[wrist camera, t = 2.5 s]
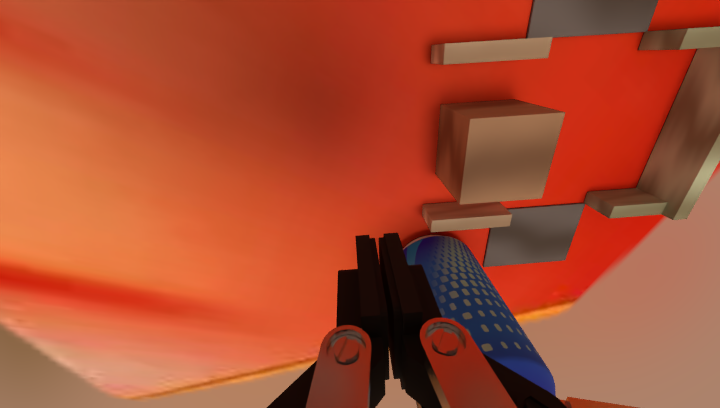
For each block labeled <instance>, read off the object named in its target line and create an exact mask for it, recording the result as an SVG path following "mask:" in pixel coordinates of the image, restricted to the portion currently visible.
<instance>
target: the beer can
mask: <svg viewBox="0 0 720 408" xmlns="http://www.w3.org/2000/svg"><path fill="white" fill-rule="evenodd" d="M403 251H404V254H405V257H406V260H407V263H408V265H417V264H421V265H422V266H423V269H424V271H425V274H426V276H427V279H428V282H429V284H430V287H431V289H432V292H433V295H434V297H435V300H436V302H437V305H438V307H439V310H440V313H441V315H442V318H448V319H451V320H454V321H456V322H458V323H459V324H461V325H462V326H463V327H464V328H465V329H466V330H467V331H468V332H469V334H470V335H471V337H472V339H473V340H474V342H475V343H476V345H477V346H478V348H479V349H480V351H481V352H482V353H483V354H485V355H487V356H488V357H490V358H492V359H494V360H495V361H497V362H499V363H500V364H502V365H504V366H506V367H507V368H509V369H511V370H512V371H514V372H516V373H518V374H519V375H521V376H523V377H524V378H526V379H528V380H530V381H531V382H533V383H535V384H536V385H538V386H540V387H542V388H543V389H545V390H547V391H548V392H550V393H551V394H553V395H554V396H555V383H554V380H553V376H552V375H551V373H550V371H549V369H548V368H547V366H546V365H545V363H544V361H543V360H542V358H541V357H540V355H539V354H538V352H537V351H536V349H535V348H534V347H533V345H532V343H531V342H530V340H529V339H528V338H527V336H526V334H525V333H524V331H523V330H522V328H521V327H520V325H519V324H518V322H517V321H516V319H515V318H514V316H513V315H512V313H511V311H510V310H509V308H508V307H507V305H506V304H505V302H504V301H503V299H502V298H501V296H500V295H499V293H498V292H497V290H496V289H495V287H494V286H493V284H492V283H491V281H490V280H489V278H488V277H487V275H486V274H485V272H484V271H483V269H482V268H481V266H480V265H479V263H478V261H477V260H476V258H475V257H474V255H473V254H472V252H471V251H470V249H469V248H468V247H467V246H466V245H465V244H464V243H463V242H461V241H460V240H458V239H455V238H453V237H449V236H442V235H427V236H422V237H419V238H417V239H415V240H413V241H412V242H410V243H409V244H407V245H406V246H405V247H404V248H403ZM555 397H556V396H555Z"/></svg>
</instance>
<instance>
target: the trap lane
mask: <svg viewBox="0 0 720 408" xmlns="http://www.w3.org/2000/svg"><path fill="white" fill-rule="evenodd" d="M657 3H658V0H533V4H532V9H531V15H530V20H529V25H528V31H527V36H526V39H511V40H495V41H478V42H462V43H446V44H436V45H432V49H431V63H433V64H443V65H444V64H460V63H475V62H491V61H507V60H522V59H538V58H548V55H549V51H550V47H551V42H552V38H553V37H569V36H585V35H601V34H617V33H633V32H644V35H643V37H642V40H641V43H640V46H639V49H638V50H678V49H695V48H698V49H697V51H696V53H695V56H694V58H693V60H692V62H691V65H690V67H689V69H688V72H687V74H686V76H685V78H684V81H683V83H682V85H681V87H680V90H679V92H678V94H677V96H676V99H675V101H674V103H673V106H672V108H671V110H670V112H669V115H668V117H667V119H666V121H665V124H664V126H663V128H662V130H661V133H660V135H659V137H658V139H657V142H656V144H655V146H654V149H653V151H652V153H651V155H650V158H649V160H648V162H647V164H646V167H645V169H644V171H643V173H642V176H641V178H640V180H639V183H638V185H637V187H636V188H630V189H617V190H604V191H591V192H587V195H586V198H585V200H584V203H574V204H561V205H548V206H535V207H522V208H510V209H506V208H505V207H504V206H503V205H502V204H501V203H500V202H487V203H474V204H461V205H460V204H459V203H458V202H447V203H434V204H423V211H422V216H423V218H424V220H425V222H426V224H427V226H428V228H429V230H430V232H443V231H455V230H468V229H481V228H490V231H489V236H488V241H487V247H486V252H485V257H484V262H483V267H489V266H502V265H514V264H526V263H538V262H550V261H562V260H565V259H566V256H567V253H568V250H569V247H570V245H571V242H572V239H573V236H574V234H575V231H576V228H577V225H578V222H579V220H580V217H581V214H582V211H583V209H584V206H585V204H587V205H588V206H590V207H591V208H593V209H595V210H596V211H598V212H600V213H601V214H603V215H605V216H606V217H608V218H620V217H632V216H645V215H657V214H662V215H664V216H666V217H668V218H670V219H672V220H679V219H687V217H688V215H689V214H690V212H691V210H692V208H693V207H694V205H695V203H696V201H697V199H698V198H699V196H700V194H701V192H702V191H703V189H704V187H705V185H706V184H707V182H708V180H709V178H710V177H711V175H712V173H713V171H714V169H715V168H716V166H717V164H718V162H719V161H720V27H704V28H688V29H675V30H662V31H649V32H647V30H648V28H649V25H650V22H651V19H652V17H653V14H654V11H655V8H656V5H657Z"/></svg>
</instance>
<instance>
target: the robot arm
mask: <svg viewBox="0 0 720 408" xmlns="http://www.w3.org/2000/svg"><path fill="white" fill-rule="evenodd" d="M356 249H357V264H358V269H352V270H339V271H338V293H337V328H334V329H333V330H331V331H330V332H329V333H328V334H327V335H326V336H325V337H324V339H323V341H322V344H321V347H320V351H319V355H318V359H317V361H316V362H315V363H314V364H313V365H311V366H310V367H309V368H308V369H307V370H306V371H305V372H304V373H303V374H302V375H301V376H300V377H299V378H298V379H297V380H296V381H294V382H293V383H292V384H291V385H290V386H289V387H288V388H287V389H286V390H285V391H284V392H283V393H282V394H281V395H280V396H279V397H278V398H276V399H275V400H274V401H273V402H272V403H271V404H270V405H269V406H268V407H267V408H375V407H376V406H377V405H378V403H379V402H380V401H381V399H382V398H383V396H384V395H385V380H388V379H389V351H390V357H391V364H392V370H393V376H394V379H400V382H401V387H402V389H405V391H406V393H407V394H408V395H409V396H411V397H412V398H413V399H414V400H416V404H417V408H638V407H631V406H625V405H618V404H611V403H605V402H598V401H591V400H585V399H578V398H572V397H567V399H566V401H565V400H559V399H558V398H557V397H555V396H554V395H553V394H551V393H550V392H548V391H547V390H545V389H543V388H542V387H540V386H538V385H536V384H535V383H533V382H531V381H530V380H528V379H526V378H524V377H523V376H521V375H519V374H518V373H516V372H514V371H512V370H511V369H509V368H507V367H506V366H504V365H502V364H500V363H499V362H497V361H495V360H494V359H492V358H490V357H488V356H487V355H485V354H483V353H482V352H481V351H480V349H479V348H478V346H477V345H476V343H475V342H474V340H473V339H472V337H471V335H470V334H469V332H468V331H467V330H466V329H465V328H464V327H463V326H462V325H461V324H459V323H458V322H456V321H454V320H451V319H448V318H442V315H441V313H440V310H439V307H438V305H437V302H436V300H435V297H434V295H433V292H432V289H431V287H430V284H429V282H428V279H427V276H426V274H425V271H424V269H423V266H422V265H421V264H417V265H408V263H407V260H406V257H405V254H404V251H403V247H402V244H401V241H400V238H399V235H398V233H388V234H384V237H383V238H379V259H378V254H377V248H376V242H375V238H370V237H369V235H361V236H356ZM379 263H380V265H379Z"/></svg>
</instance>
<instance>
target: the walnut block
mask: <svg viewBox="0 0 720 408" xmlns="http://www.w3.org/2000/svg"><path fill="white" fill-rule="evenodd" d="M564 115H565V112H562V111H558V110H554V109H550V108H546V107H542V106H539V105H535V104H531V103H527V102H523V101H519V100H515V99H510V100H495V101H481V102H466V103H451V104H441V105H440V119H439V132H438V146H437V159H436V172H435V174H436V175H437V177H438V178H439V179H440V180H441V182H442V183H443V184H444V185H445V187H446V188H447V189H448V190H449V192H450V193H451V194H452V196H453V197H454V198H455V199H456V201H457V202H458V203H459V204H460V205H461V204H474V203H487V202H500V201H513V200H526V199H538V198H542V195H543V192H544V188H545V185H546V181H547V177H548V174H549V170H550V166H551V163H552V159H553V155H554V152H555V148H556V144H557V141H558V137H559V134H560V130H561V126H562V123H563V119H564Z"/></svg>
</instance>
